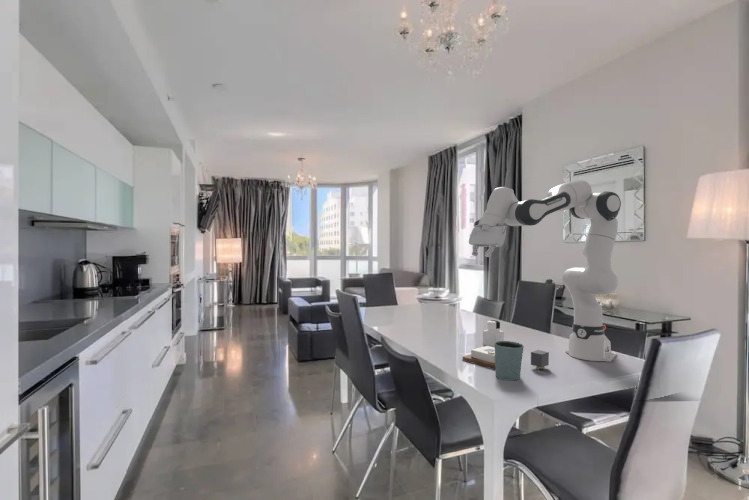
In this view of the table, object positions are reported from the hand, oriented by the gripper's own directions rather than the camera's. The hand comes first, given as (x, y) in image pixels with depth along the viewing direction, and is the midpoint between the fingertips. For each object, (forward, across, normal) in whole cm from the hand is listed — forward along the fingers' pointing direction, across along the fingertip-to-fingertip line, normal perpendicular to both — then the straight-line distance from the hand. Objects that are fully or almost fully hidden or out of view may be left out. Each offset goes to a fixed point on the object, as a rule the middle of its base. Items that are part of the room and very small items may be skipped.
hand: (480, 256), depth 159 cm
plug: (+33, -10, -36) cm, 50 cm away
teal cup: (+40, -15, -19) cm, 47 cm away
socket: (+37, +4, -23) cm, 43 cm away
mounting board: (+38, +4, -23) cm, 45 cm away
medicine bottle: (+32, +27, -39) cm, 57 cm away
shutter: (+34, +4, -22) cm, 41 cm away
